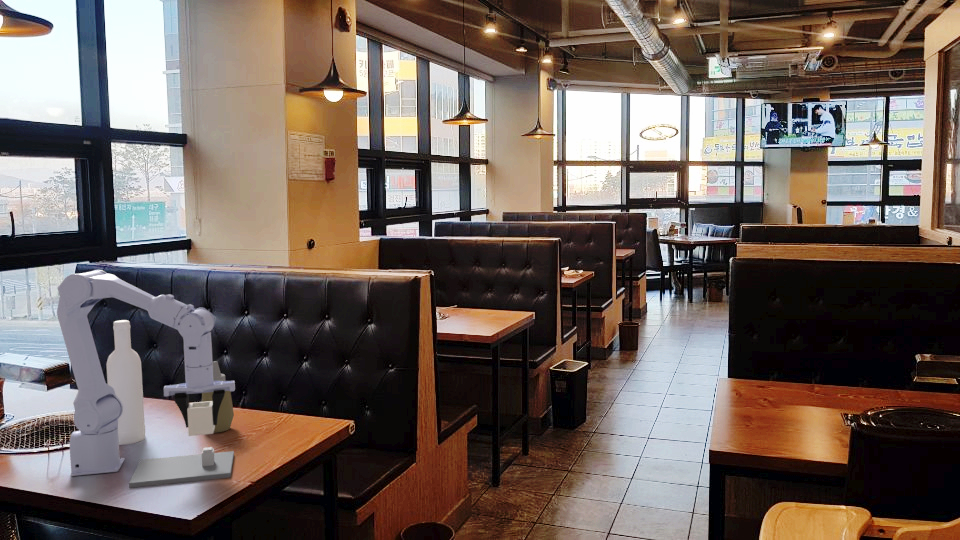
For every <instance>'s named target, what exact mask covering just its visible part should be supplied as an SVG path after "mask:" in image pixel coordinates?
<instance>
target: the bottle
mask: <svg viewBox="0 0 960 540" xmlns="http://www.w3.org/2000/svg"><path fill="white" fill-rule="evenodd" d="M112 330H113V336H114V337H113V338H114V339H113V340H114V350H112V352H111V353H110V354H109V355H108V357H107V361H106V378H107V381H106V382H107V384H108V385H109V386H111V387H112V388H113V389H114V392H115V394H116V396H117V397H118V398H119V399H120V401H121V402H122V405H123V412H122V415H121V416H120V417H119V418H118V437H119V446H127V445H132V444H137V443H140V442H142V441H143V440H145V439H146V425H145V408H144V392H143V391H144V390H143V389H144V388H143V371H142V361H141V357H140V355H139V354H138V352H137V351H135V349H133V348H132V343H131V342H132V340H131V339H132V338H131V322H130V321H129V320H127V319H121V320H120V319H119V320H115V321H113V327H112Z"/></svg>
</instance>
